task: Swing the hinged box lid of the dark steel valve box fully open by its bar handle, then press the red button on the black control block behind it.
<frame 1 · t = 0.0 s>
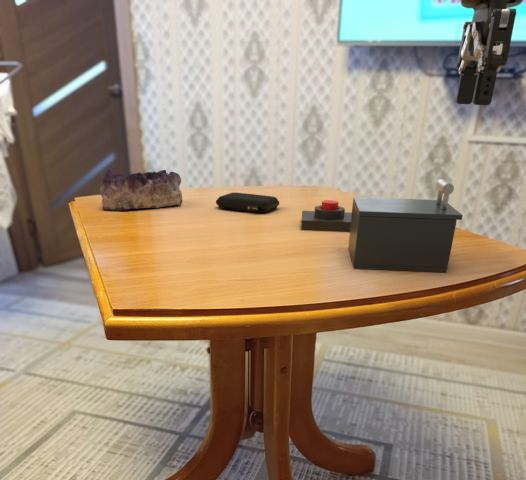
hand: (471, 104, 71), 26 cm above the table, tool pointing down, fingers open, 8 cm apart
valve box: (394, 259, 92), on the table
hinged box lid: (405, 195, 86), point 11 cm above the table, hinge at 0.0°
geode: (142, 207, 128), on the table
red button: (329, 205, 112), point 4 cm above the table, slide at 0.1 cm
button block: (328, 226, 114), on the table
carrying case: (246, 209, 128), on the table
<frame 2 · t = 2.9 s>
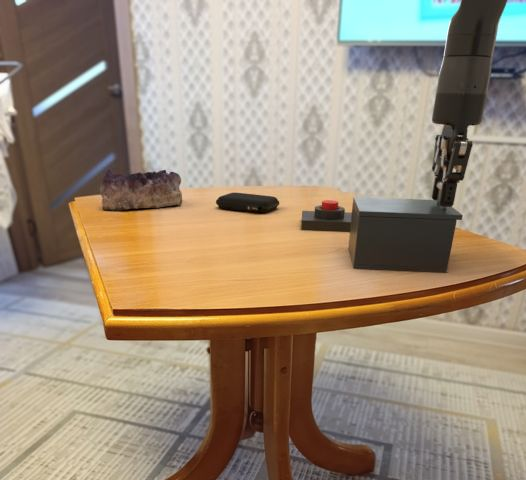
hand: (441, 202, 86), 10 cm above the table, tool pointing down, fingers closed on hinged box lid, 5 cm apart
hinged box lid: (405, 195, 86), point 11 cm above the table, hinge at 0.0°, touching gripper
everything else where it was.
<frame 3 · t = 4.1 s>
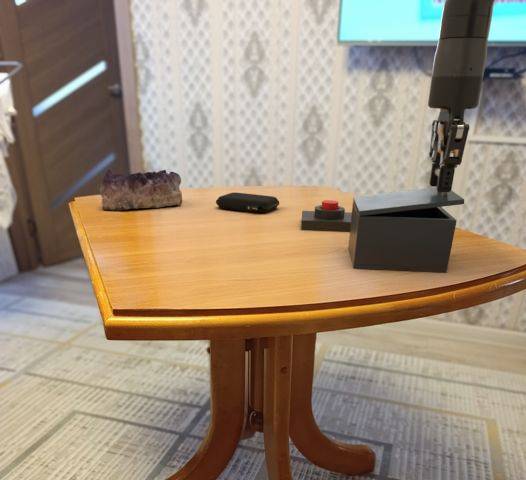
hand: (439, 188, 85), 13 cm above the table, tool pointing down, fingers closed on hinged box lid, 5 cm apart
hinged box lid: (404, 187, 86), point 13 cm above the table, hinge at 8.7°, touching gripper
everything else where it was.
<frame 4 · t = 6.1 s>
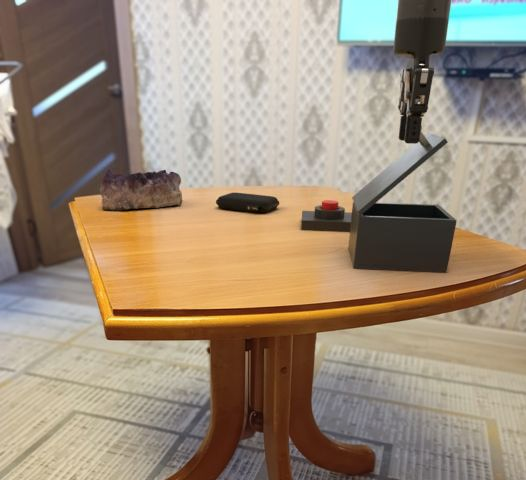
hand: (408, 141, 83), 20 cm above the table, tool pointing down, fingers closed on hinged box lid, 5 cm apart
hinged box lid: (387, 162, 84), point 16 cm above the table, hinge at 43.9°, touching gripper
everything else where it was.
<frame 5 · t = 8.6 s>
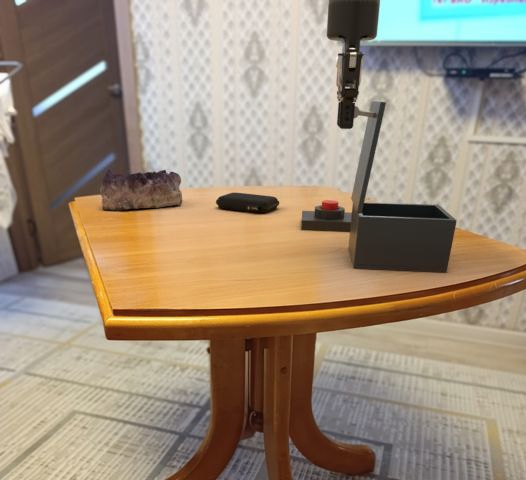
hand: (344, 127, 82), 22 cm above the table, tool pointing down, fingers closed on hinged box lid, 5 cm apart
hinged box lid: (354, 154, 84), point 18 cm above the table, hinge at 83.6°, touching gripper
everything else where it was.
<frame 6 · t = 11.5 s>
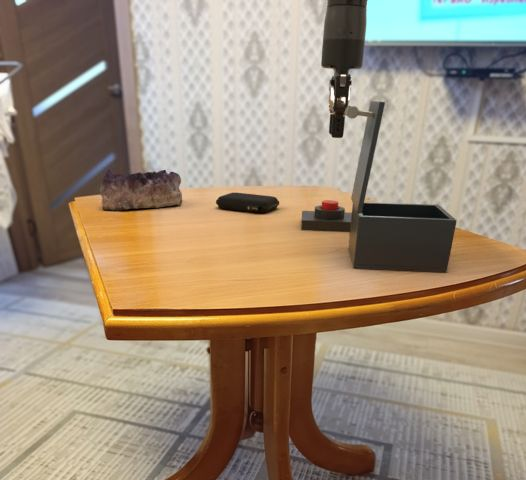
hand: (335, 136, 98), 19 cm above the table, tool pointing down, fingers open, 8 cm apart
hinged box lid: (353, 154, 84), point 18 cm above the table, hinge at 84.1°
everything else where it was.
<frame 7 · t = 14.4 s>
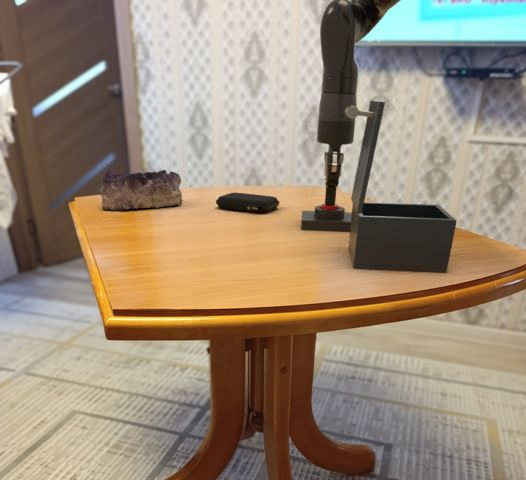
hand: (329, 204, 111), 5 cm above the table, tool pointing down, fingers closed
red button: (329, 208, 112), point 4 cm above the table, slide at -0.6 cm, touching gripper
everything else where it was.
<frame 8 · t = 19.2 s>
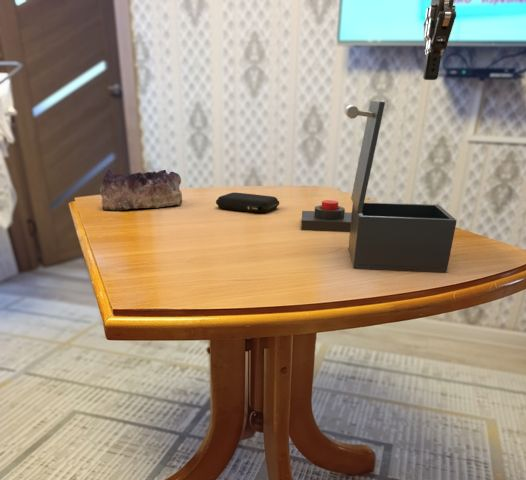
hand: (430, 79, 89), 29 cm above the table, tool pointing down, fingers closed
red button: (329, 205, 112), point 4 cm above the table, slide at 0.1 cm
everything else where it was.
at the end: hinged box lid at +84° (first picture: +0°); red button pushed in 1.0 cm at the most during the clip, back to where it started at the end; red button slide at 0.1 cm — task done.
